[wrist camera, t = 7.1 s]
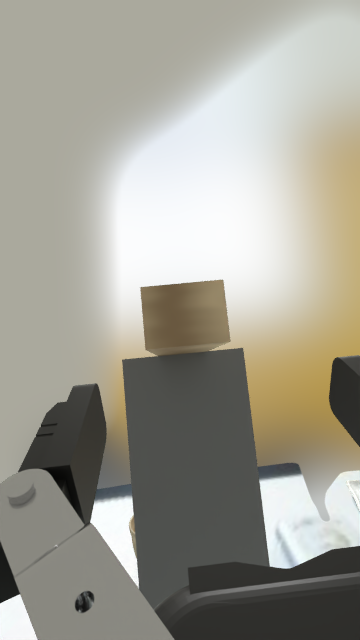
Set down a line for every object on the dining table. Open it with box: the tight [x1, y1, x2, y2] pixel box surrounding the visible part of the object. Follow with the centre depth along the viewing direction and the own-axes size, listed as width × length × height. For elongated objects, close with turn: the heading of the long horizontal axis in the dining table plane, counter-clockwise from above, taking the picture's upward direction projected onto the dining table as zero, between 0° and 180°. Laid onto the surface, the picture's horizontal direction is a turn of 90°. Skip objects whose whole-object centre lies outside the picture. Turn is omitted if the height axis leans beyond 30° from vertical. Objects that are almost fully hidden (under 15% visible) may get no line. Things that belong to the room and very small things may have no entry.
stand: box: [122, 348, 270, 610], centre depth 35 cm, size 10×20×37 cm, turn 1°
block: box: [141, 280, 230, 356], centre depth 31 cm, size 4×30×3 cm, turn 1°
